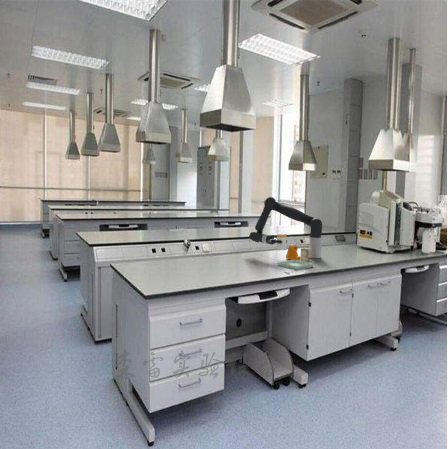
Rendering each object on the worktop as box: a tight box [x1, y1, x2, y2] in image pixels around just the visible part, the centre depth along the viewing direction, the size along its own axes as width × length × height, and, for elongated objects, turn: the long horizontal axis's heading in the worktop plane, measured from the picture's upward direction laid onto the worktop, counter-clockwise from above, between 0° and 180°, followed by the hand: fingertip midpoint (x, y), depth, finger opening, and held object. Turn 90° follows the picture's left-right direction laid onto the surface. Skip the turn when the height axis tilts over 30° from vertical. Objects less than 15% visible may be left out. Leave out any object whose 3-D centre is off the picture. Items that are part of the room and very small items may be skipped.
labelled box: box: [276, 233, 288, 252], centre depth 284 cm, size 5×5×12 cm
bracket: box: [285, 244, 301, 261], centre depth 301 cm, size 11×7×12 cm, turn 117°
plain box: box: [299, 247, 311, 263], centre depth 284 cm, size 5×5×12 cm
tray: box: [277, 259, 314, 271], centre depth 273 cm, size 18×18×3 cm
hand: (284, 241), depth 282 cm, fingers closed on labelled box, 5 cm apart
